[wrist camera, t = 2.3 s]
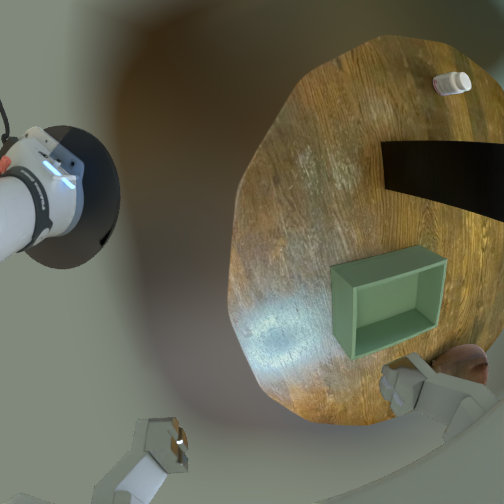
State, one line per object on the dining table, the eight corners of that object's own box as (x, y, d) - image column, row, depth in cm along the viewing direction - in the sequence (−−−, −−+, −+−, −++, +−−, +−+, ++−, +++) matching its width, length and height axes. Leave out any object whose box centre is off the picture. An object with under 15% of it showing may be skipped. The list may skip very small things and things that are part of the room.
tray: (332, 334, 56) (350, 361, 47) (330, 266, 51) (352, 287, 42) (413, 307, 58) (437, 326, 49) (418, 244, 53) (447, 259, 44)
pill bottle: (444, 100, 44) (470, 96, 36) (430, 86, 43) (456, 81, 35) (447, 84, 43) (473, 80, 35) (434, 71, 42) (460, 65, 34)
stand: (385, 189, 48) (557, 244, 14) (380, 141, 45) (562, 152, 11) (418, 184, 49) (575, 230, 15) (415, 141, 46) (578, 156, 12)
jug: (472, 334, 68) (404, 335, 67) (509, 355, 48) (442, 364, 48) (452, 389, 69) (383, 397, 69) (483, 416, 50) (411, 434, 50)
